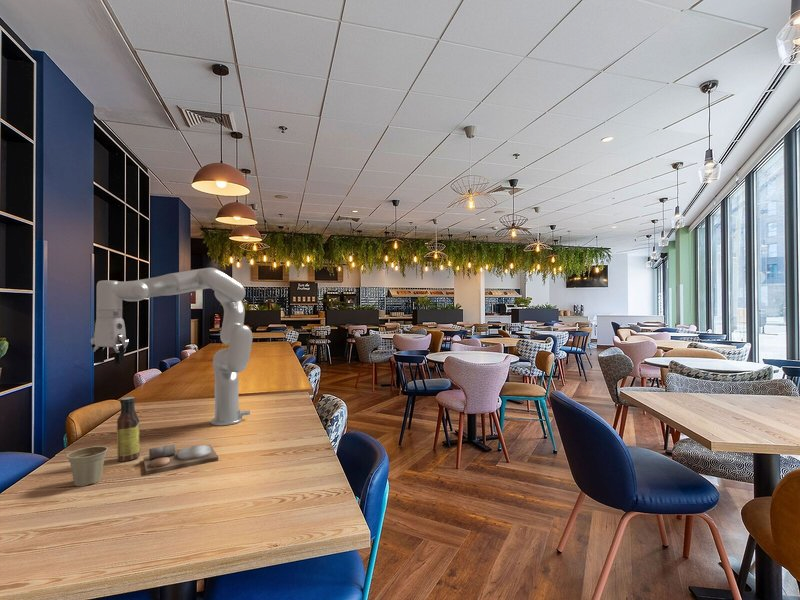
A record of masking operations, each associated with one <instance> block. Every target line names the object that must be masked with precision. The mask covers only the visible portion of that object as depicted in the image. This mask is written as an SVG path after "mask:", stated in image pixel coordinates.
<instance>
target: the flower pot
mask: <svg viewBox="0 0 800 600" xmlns="http://www.w3.org/2000/svg"><path fill="white" fill-rule="evenodd" d="M108 449H109V447H107V446H102V445H97V446H89V447H83V448H79V449H76V450H73V451H71V452H69V453H67V454H66V459H68V462H69V464H70V467H71V474H72V479H73V484H74V486H75V487H86V486H89V485H90V484H96V483H98V482H100V481H101V480H102V477H103V476H102V475H103V470H104V469H103V468H104V464H105V463H104V462H105V457H106V455H107V451H108Z"/></svg>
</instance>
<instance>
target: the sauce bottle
mask: <svg viewBox="0 0 800 600" xmlns="http://www.w3.org/2000/svg"><path fill="white" fill-rule="evenodd" d="M135 402H136V397H135V396H127V397H123V398H120V400H119V403H120V414H119V416H118V417H117V421H116V444H117V448H116V449H117V460H118V461H119V462H130V461H132V460H136V459H138V458H140V454H141V453H140V452H141V437H140V436H141V434H140V431H141V430H140V419H139V417H138V415H137V412H136V408H135Z"/></svg>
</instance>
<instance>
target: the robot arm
mask: <svg viewBox="0 0 800 600" xmlns="http://www.w3.org/2000/svg"><path fill="white" fill-rule="evenodd" d="M207 289H211V290H213V291H214V293H213V294H214V297H215V298H216V300H217V301H218V302H219V303H220V304H221V305H222V307H223V318H222V320H223V321H222V324H221V325H222V326H221V329H220V330H221V331H220V336H219V337H220V341H221V343H223V344H224V345H226V346H228V348H221V349H219V350H217V351H216V353H215V354H214V356H213V357H212V366H213V372H214V418H212V419H211V420H210V424H211V425H212V426H230V425H231V426H232V425H234V424H235V425H236V424H238V423H240V422H242V421H243V416H249V415H250V414H251V411H250V410H244V409H243V410H241V409H239V407H240V406H239V402H240V401H239V380H240V379H239V373H241V372H244V371H245V369H246V368H247V367H248V366H249V365H248V364H249V362H250V357H251V356H250V355H251V351H252V345H253V332H252V330H251V329H250V327H249V326H247V325H245V324H244V323H245V315H246V310H245V309H246V308H245V305H244V304H243V300H244V299H245V296H246V289H245V287H244V286H243V284H241V283H240V282H238V281H237V280H235V279H234V278H233V277H231V276H229V275H228V274H226V273H225V272H224V271H221V270H220V269H218V268H215V267H205V268H198V269H197V268H196V269H191V270H186V271H178V272H172V273H166V274H163V275H160V276H154V277H148V278H143V279H136V280H128V281H127V280H126V281H118V280H110V279H108V280H106V279H105V280H103V279H102V280H99V281H97V283H96V311H95V312H96V316H95V317H96V319H95V324H94V333H93V336H94V337H93V336H92V338H90V343H91V347H92V352H93V353H94V354H93V356H94V357H93V358H94V359H93V362H94V364H100V363H104V362H105V350H104V349H105V348H112V349H113V350H114V351H115V352H114V354H113V357H114V358H113V364H114V365H122V364H124V363H125V352H126V349H127V348H128V345H129V342H130V341H129V339H128V338H127V336H126V334H127V333H126V325H125V320H124V319H123V301H126V302H140V301H143V300H144V299H145V300H146V299H149V298H154V297H162V296H174V295H175V296H176V295H180V294H181V295H182V294H187V293H191V292H196V291H201V290H207Z"/></svg>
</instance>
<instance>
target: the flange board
mask: <svg viewBox="0 0 800 600" xmlns="http://www.w3.org/2000/svg"><path fill="white" fill-rule="evenodd" d="M148 451H149V453H148V454H149V455H145V456H143V465H144V466H143V467H144V473H145V476H148V475H152V474H157V473H159V474H160V473H162V472H168V471H173V470H178V469H182V468H187V467H194V466H197V465H202V464H207V463H212V462H218V461H219V456H218V454H217V452H216V451H215V450H214V448H213V446H212V445H211V444H207V445H204V444H203V445H194V446H192V445H191V446H188V447H185V448H181V449H180V450H179V449H178V450H176V446H175V444H171V445H170V444H169V445H164V446H159V447H152V448H149V449H148Z"/></svg>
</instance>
